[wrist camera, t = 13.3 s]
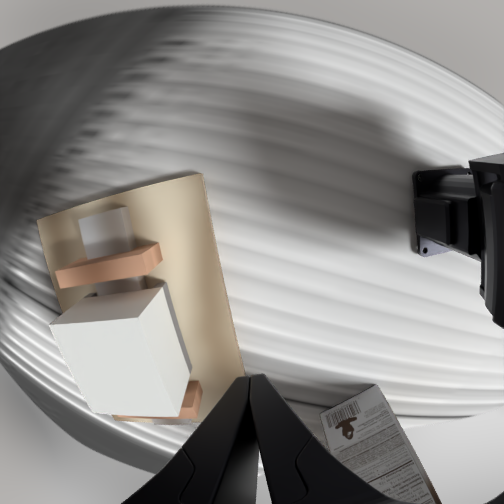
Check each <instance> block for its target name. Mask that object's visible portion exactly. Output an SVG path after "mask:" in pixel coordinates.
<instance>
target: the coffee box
mask: <svg viewBox="0 0 504 504" xmlns="http://www.w3.org/2000/svg"><path fill="white" fill-rule="evenodd" d="M320 418H321V421H322V425H323V429H324V433H325V436H326V440H327V443H328V447H329V451H330V453H331V454H332V455H333V456H334V457H335V458H337V459H338V460H339V461H340V462H341V463H342V464H344V465H345V466H346V467H347V468H349V469H350V470H351V471H353V472H354V473H355V474H357V475H358V476H359V477H361V478H362V479H363V480H365V481H366V482H367V483H369V484H370V485H372V486H373V487H374V488H376V489H377V490H379V491H380V492H382V493H384V494H385V495H387V496H389V497H392V498H394V499H397V500H401V501H406V502H412V503H418V504H442V503H441V501H440V499H439V497H438V495H437V493H436V491H435V489H434V487H433V485H432V483H431V481H430V479H429V477H428V475H427V473H426V471H425V469H424V467H423V465H422V464H421V462H420V460H419V458H418V456H417V454H416V452H415V450H414V449H413V447H412V445H411V443H410V441H409V440H408V438H407V436H406V434H405V432H404V431H403V429H402V427H401V425H400V423H399V421H398V420H397V418H396V416H395V414H394V413H393V411H392V409H391V407H390V405H389V404H388V402H387V400H386V398H385V397H384V395H383V393H382V392H381V390H380V388H379V387H378V385H374V386H372V387H371V388H369V389H367V390H365V391H363V392H362V393H360V394H358V395H356V396H354V397H352V398H351V399H349V400H347V401H345V402H343V403H341V404H339V405H337V406H335V407H333V408H331V409H329V410H327V411H325V412H322V413H321V414H320Z"/></svg>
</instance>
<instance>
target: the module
mask: <svg viewBox="0 0 504 504" xmlns="http://www.w3.org/2000/svg"><path fill="white" fill-rule="evenodd" d="M49 327H50V329H51V332H52V334H53V337H54V339H55V341H56V343H57V346H58V348H59V350H60V352H61V354H62V357H63V359H64V361H65V363H66V365H67V367H68V369H69V371H70V373H71V375H72V377H73V379H74V381H75V382H76V384H77V386H78V388H79V390H80V392H81V393H82V395H83V397H84V399H85V400H86V402H87V404H88V405H89V407H90V409H91V410H92V412H93V413H101V414H112V415H125V416H147V417H178V416H179V412H180V409H181V405H182V402H183V398H184V395H185V391H186V388H187V384H188V381H189V377H190V374H191V370H192V364H191V361H190V358H189V355H188V352H187V349H186V346H185V343H184V340H183V337H182V334H181V330H180V327H179V324H178V320H177V317H176V314H175V310H174V307H173V303H172V300H171V296H170V292H169V289H168V285H167V282H162V283H157V284H156V285H155V286H154V288H152V289H145V290H138V291H131V292H124V293H117V294H110V295H103V296H97V294H96V292H95V293H89V294H88V295H86V296H85V297H84V298H82V299H81V300H80V301H78V302H77V303H76V304H74V305H73V306H72V307H71V308H69V309H68V310H67V311H65V312H64V313H63V314H62V315H60V316H59V317H58V318H57V319H55V320H54V321H53V322H52V323H50V324H49Z"/></svg>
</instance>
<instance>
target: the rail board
mask: <svg viewBox="0 0 504 504" xmlns="http://www.w3.org/2000/svg"><path fill="white" fill-rule="evenodd" d="M37 225H38V230H39V234H40V239H41V243H42V247H43V251H44V255H45V259H46V263H47V266H48V270H49V273H50V277H51V280H52V283H53V286H54V289H55V292H56V295H57V298H58V301H59V304H60V307H61V310H62V312H63V313H64V312H65V311H67V310H68V309H69V308H71V307H72V306H73V305H74V304H76V303H77V302H78V301H80V300H81V299H82V298H84V297H85V296H86V295H88V294H89V293H95V292H96V294H97V296H103V295H110V294H117V293H124V292H131V291H138V290H145V289H152V288H154V286H155V285H156V284H157V283H162V282H167V285H168V289H169V292H170V296H171V300H172V303H173V307H174V310H175V314H176V317H177V320H178V324H179V327H180V330H181V334H182V337H183V340H184V343H185V346H186V349H187V352H188V355H189V358H190V361H191V364H192V370H191V374H190V377H189V381H188V384H187V388H186V391H185V395H184V398H183V402H182V405H181V409H180V412H179V416H178V417H147V416H125V415H112V414H111V415H112V416H113V418H114V420H117V421H130V422H152V423H154V424H158V425H190V424H191V423H193V422H202V421H203V420H204V419H205V417H206V416H207V415H208V414H209V412H210V411H211V410H212V409H213V407H214V406H215V405H216V403H217V402H218V401H219V400H220V398H221V397H222V396H223V394H224V393H225V392H226V390H227V389H228V388H229V386H230V385H231V384H232V382H233V381H234V380H235V378H237V377H241V376H246V375H245V371H244V367H243V362H242V358H241V354H240V350H239V346H238V341H237V337H236V333H235V328H234V324H233V320H232V315H231V311H230V306H229V302H228V297H227V293H226V288H225V283H224V279H223V274H222V269H221V264H220V260H219V255H218V250H217V245H216V240H215V235H214V230H213V225H212V220H211V215H210V209H209V204H208V199H207V193H206V188H205V182H204V177H203V174H201V173H200V174H195V175H191V176H186V177H182V178H177V179H173V180H169V181H164V182H160V183H156V184H152V185H148V186H144V187H141V188H137V189H133V190H129V191H126V192H122V193H119V194H115V195H112V196H108V197H105V198H101V199H98V200H95V201H92V202H88V203H85V204H82V205H79V206H76V207H73V208H70V209H67V210H64V211H61V212H58V213H55V214H52V215H49V216H47V217H44V218H41V219H38V220H37Z"/></svg>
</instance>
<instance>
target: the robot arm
mask: <svg viewBox="0 0 504 504" xmlns="http://www.w3.org/2000/svg"><path fill="white" fill-rule="evenodd" d="M469 166H470V169H469V168H461V169H441V170H426V171H416V172H414V173H413V186H414V196H415V200H414V207H415V221H416V233H417V243H418V254H419V255H421V256H423V257H427V256H432V255H436V254H440V253H444V252H448V251H452V250H453V251H456V252H458V253H461V254H463V255H466V256H468V257H471V258H473V259H475V260H478V261H480V262H481V285H480V295H481V296H482V297H483V299H484V300H485V306H486V307H487V309H488V310H489V312H490V313H491V314H492V315H493V322H494V323H495V324H497V325H498V326H500V327H501V328H503V329H504V153H501V154H497V155H492V156H487V157H482V158H478V159H473V160H469ZM467 173H468V175H467ZM418 175H420V181H419V180H418ZM424 248H425V251H424V252H423V249H424ZM259 450H260V455H261V459H262V463H263V468H264V472H265V476H266V481H267V485H268V489H269V493H270V497H271V501H272V504H418V503H412V502H406V501H401V500H397V499H394V498H392V497H389V496H387V495H385V494H384V493H382V492H380V491H379V490H377V489H376V488H374V487H373V486H372V485H370V484H369V483H367V482H366V481H365V480H363V479H362V478H361V477H359V476H358V475H357V474H355V473H354V472H353V471H351V470H350V469H349V468H347V467H346V466H345V465H344V464H342V463H341V462H340V461H339V460H338V459H337V458H335V457H334V456H333V455H332V454H331V453H330V452H329V451H328V450H327V449H326V448H325V447H324V446H323V445H322V443H321V442H320V441H319V440H318V439H317V438H316V437H315V436H314V434H313V433H312V432H311V431H310V430H309V429H308V427H307V426H306V425H305V424H304V423H303V421H302V420H301V419H300V418H299V417H298V415H297V414H296V413H295V412H294V411H293V409H292V408H291V407H290V406H289V404H288V403H287V402H286V401H285V399H284V398H283V397H282V396H281V394H280V393H279V392H278V391H277V389H276V388H275V387H274V386H273V384H272V383H271V382H270V380H269V379H268V378H267V377H266V375H265V374H256V375H252V376H251V377H250V376H241V377H237V378H235V380H234V381H233V382H232V384H231V385H230V386H229V388H228V389H227V390H226V392H225V393H224V394H223V396H222V397H221V398H220V400H219V401H218V402H217V403H216V405H215V406H214V407H213V409H212V410H211V411H210V412H209V414H208V415H207V416H206V417H205V419H204V420H203V421H202V422H201V424H200V425H199V426H198V427H197V429H196V430H195V431H194V432H193V434H192V435H191V436H190V437H189V438H188V440H187V441H186V442H185V443H184V445H183V446H182V448H180V449H179V450H178V452H177V453H176V454H175V455H174V456H173V457H172V458H171V460H170V461H169V462H168V463H167V464H166V465H165V466H164V467H163V468H162V469H161V470H160V471H159V472H158V473H157V474H156V475H155V476H154V477H152V478H151V479H150V480H149V481H148V482H147V483H146V484H145V485H143V486H142V487H141V488H140V489H139V490H137V491H136V492H135V493H134V494H132V495H131V496H130V497H129V498H128V499H126V500H125V501H124V502H123V503H121V504H256V489H257V475H258V459H259ZM485 504H504V491H503V492H502V493H501V494H499V495H498V496H497V497H495V498H494V499H493V500H491V501H489V502H487V503H485Z"/></svg>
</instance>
